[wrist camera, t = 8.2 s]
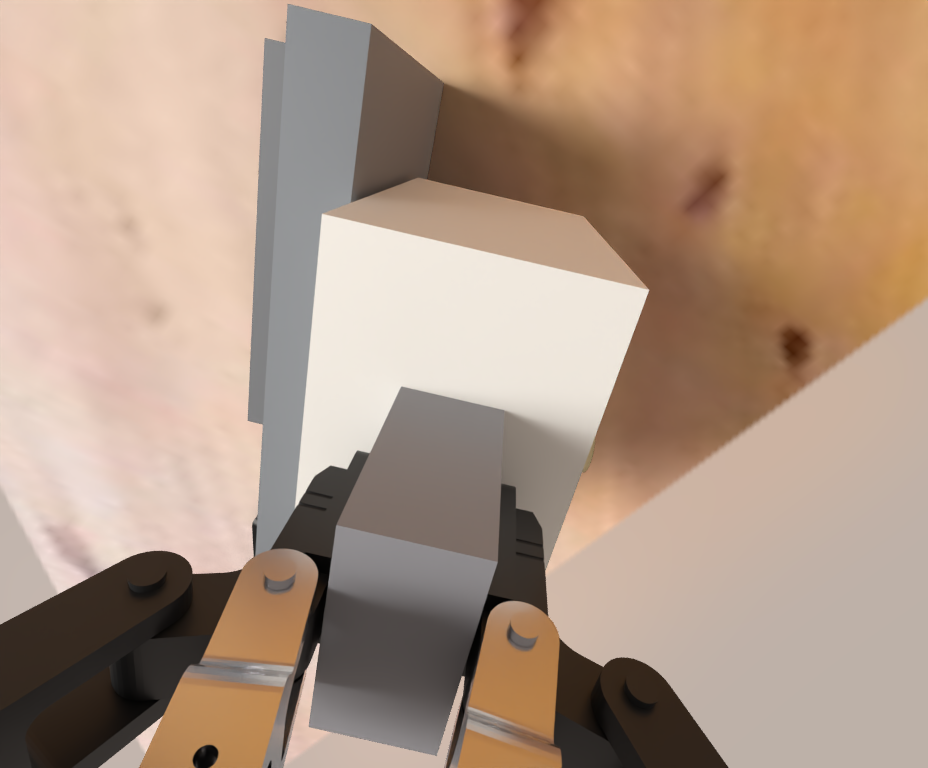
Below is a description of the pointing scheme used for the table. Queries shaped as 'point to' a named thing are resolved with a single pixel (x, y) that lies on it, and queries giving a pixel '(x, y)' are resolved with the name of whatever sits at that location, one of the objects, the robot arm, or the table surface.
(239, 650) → the robot arm
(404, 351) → the cabinet
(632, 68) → the table surface
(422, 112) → the wall board
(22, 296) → the table surface
